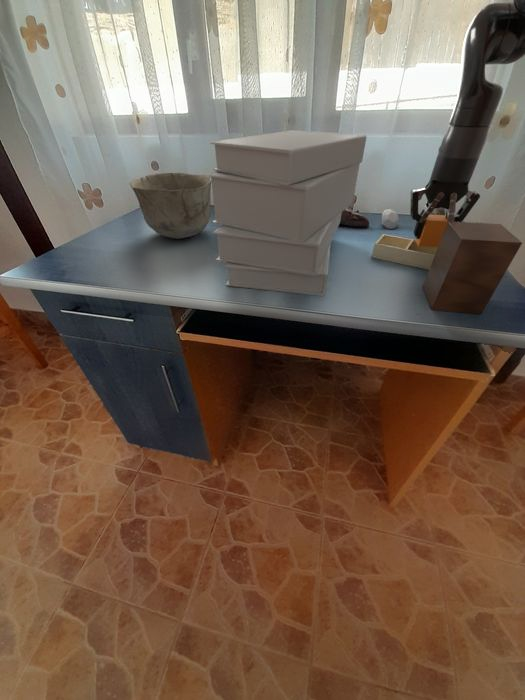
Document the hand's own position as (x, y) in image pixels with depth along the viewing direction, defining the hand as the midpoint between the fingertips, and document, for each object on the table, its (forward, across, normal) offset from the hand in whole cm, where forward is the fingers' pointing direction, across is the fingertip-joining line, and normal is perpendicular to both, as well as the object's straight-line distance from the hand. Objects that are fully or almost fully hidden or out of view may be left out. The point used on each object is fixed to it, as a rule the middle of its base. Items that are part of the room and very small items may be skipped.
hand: (428, 238), depth 71 cm
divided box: (+6, 0, 0) cm, 6 cm away
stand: (+6, +2, -18) cm, 19 cm away
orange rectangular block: (+1, 0, 0) cm, 1 cm away
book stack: (+6, -34, -5) cm, 34 cm away
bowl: (+6, -67, +7) cm, 68 cm away
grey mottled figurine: (+6, +8, +28) cm, 30 cm away
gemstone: (+6, -5, +25) cm, 26 cm away
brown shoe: (+6, -18, +24) cm, 31 cm away
